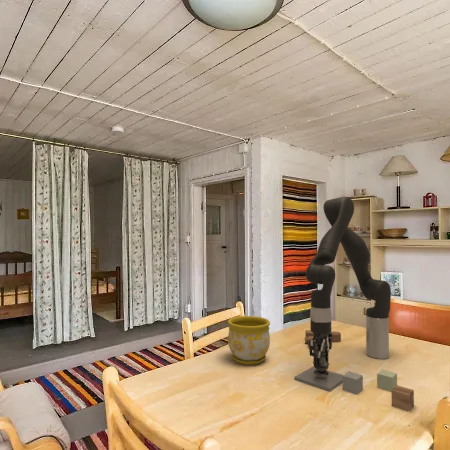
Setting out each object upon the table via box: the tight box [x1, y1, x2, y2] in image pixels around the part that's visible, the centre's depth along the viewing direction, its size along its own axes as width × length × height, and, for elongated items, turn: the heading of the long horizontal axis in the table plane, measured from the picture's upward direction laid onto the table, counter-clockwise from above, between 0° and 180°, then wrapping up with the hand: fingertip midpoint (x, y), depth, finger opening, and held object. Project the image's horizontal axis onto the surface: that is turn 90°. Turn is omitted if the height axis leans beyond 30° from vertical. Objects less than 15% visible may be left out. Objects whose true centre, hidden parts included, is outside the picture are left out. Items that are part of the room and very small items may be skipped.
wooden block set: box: [304, 329, 342, 347], centre depth 167 cm, size 17×6×18 cm
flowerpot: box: [227, 315, 271, 366], centre depth 147 cm, size 18×18×16 cm
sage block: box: [376, 369, 398, 393], centre depth 121 cm, size 5×5×5 cm
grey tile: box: [293, 365, 344, 393], centre depth 127 cm, size 14×14×1 cm
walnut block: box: [391, 384, 415, 412], centre depth 108 cm, size 5×5×5 cm
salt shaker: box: [312, 345, 330, 376], centre depth 128 cm, size 6×6×12 cm
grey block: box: [342, 371, 364, 395], centre depth 119 cm, size 5×5×5 cm
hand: (321, 364), depth 128 cm, fingers closed on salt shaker, 6 cm apart
